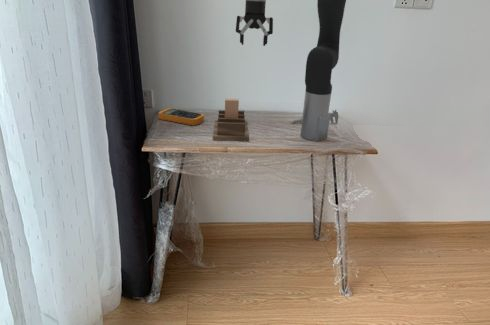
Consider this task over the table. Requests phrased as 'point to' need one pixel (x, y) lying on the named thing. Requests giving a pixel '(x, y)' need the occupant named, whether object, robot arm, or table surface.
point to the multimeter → (181, 116)
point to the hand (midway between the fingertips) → (253, 45)
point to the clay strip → (231, 108)
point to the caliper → (334, 114)
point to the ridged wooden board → (231, 128)
